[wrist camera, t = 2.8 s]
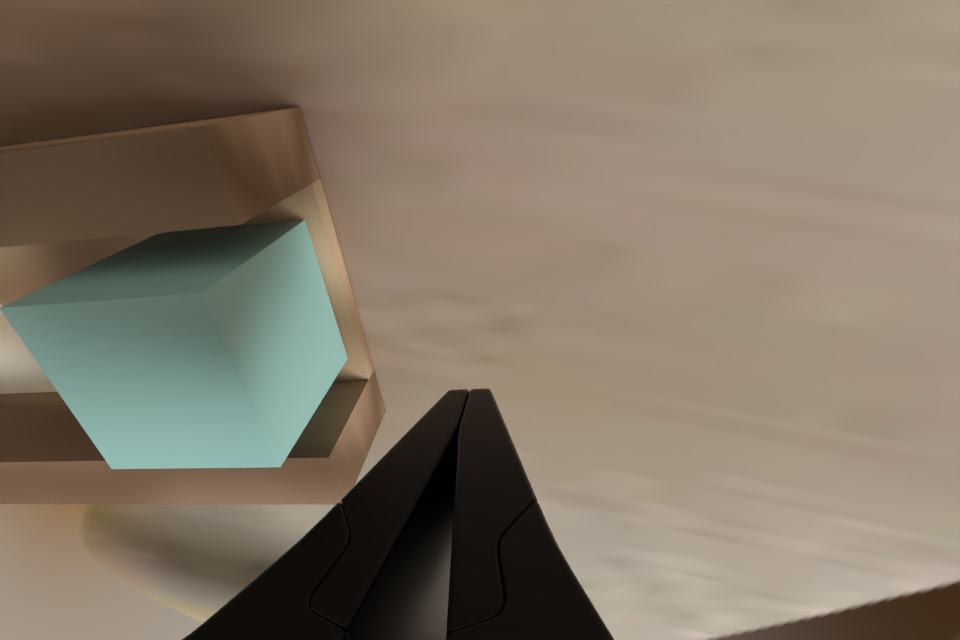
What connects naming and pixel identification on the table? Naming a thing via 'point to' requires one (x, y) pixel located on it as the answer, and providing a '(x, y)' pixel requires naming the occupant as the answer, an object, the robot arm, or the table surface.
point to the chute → (127, 221)
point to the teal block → (190, 346)
